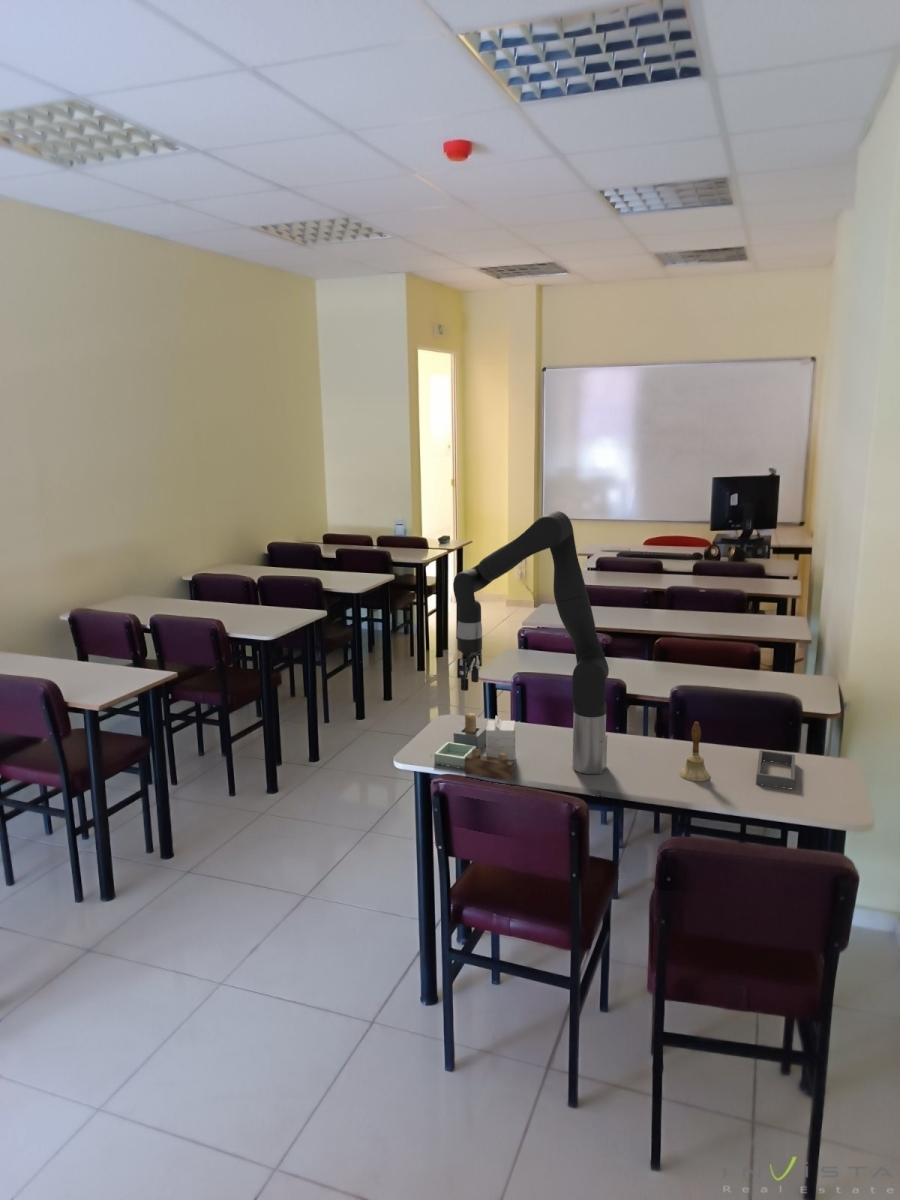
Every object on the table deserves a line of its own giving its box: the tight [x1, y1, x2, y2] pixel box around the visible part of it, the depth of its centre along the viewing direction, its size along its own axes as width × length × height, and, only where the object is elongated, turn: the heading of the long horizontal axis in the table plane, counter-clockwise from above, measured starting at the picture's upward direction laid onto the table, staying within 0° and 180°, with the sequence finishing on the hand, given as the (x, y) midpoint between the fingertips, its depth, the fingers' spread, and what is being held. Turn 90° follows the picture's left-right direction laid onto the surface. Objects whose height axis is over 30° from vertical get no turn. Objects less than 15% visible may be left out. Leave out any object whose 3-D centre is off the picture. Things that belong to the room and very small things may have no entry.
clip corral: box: [755, 749, 796, 790], centre depth 225 cm, size 10×18×3 cm, turn 157°
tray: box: [433, 741, 477, 770], centre depth 237 cm, size 10×10×3 cm
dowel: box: [464, 712, 477, 734], centre depth 247 cm, size 3×3×10 cm
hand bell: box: [679, 721, 711, 782], centre depth 224 cm, size 8×8×16 cm
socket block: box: [453, 723, 487, 750], centre depth 248 cm, size 8×8×5 cm
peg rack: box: [464, 749, 516, 782], centre depth 227 cm, size 14×3×7 cm, turn 67°
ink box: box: [485, 715, 516, 762], centre depth 235 cm, size 9×8×13 cm
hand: (469, 686), depth 244 cm, fingers open, 8 cm apart
